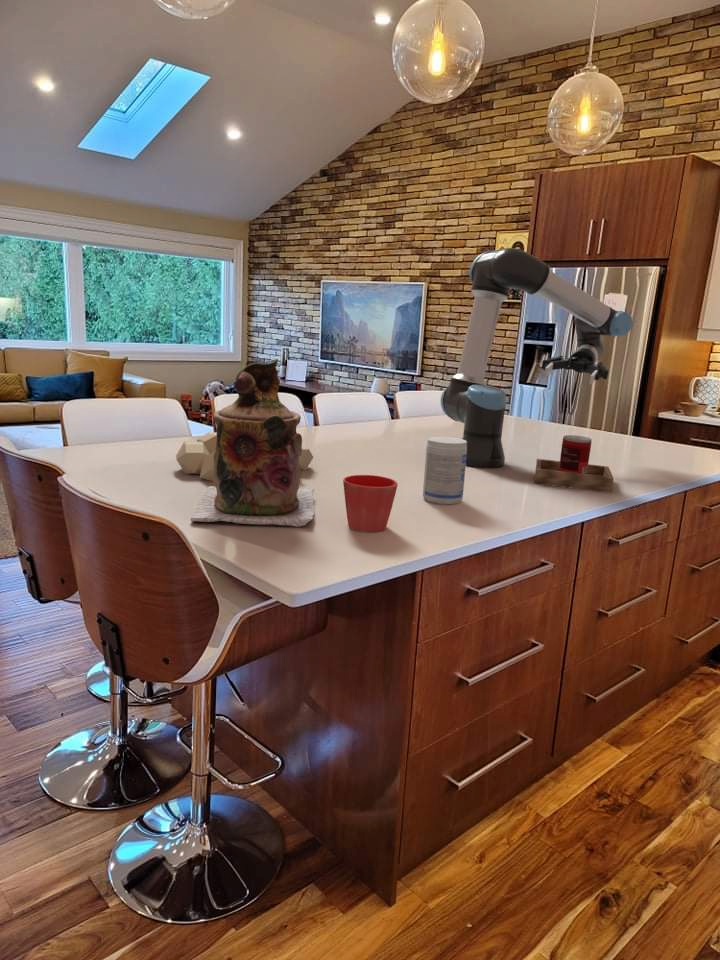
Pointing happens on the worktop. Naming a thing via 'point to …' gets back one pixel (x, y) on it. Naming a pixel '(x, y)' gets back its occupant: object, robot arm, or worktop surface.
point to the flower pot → (368, 501)
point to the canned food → (575, 454)
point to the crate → (574, 476)
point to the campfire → (201, 456)
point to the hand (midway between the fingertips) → (568, 376)
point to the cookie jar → (257, 457)
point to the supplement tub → (444, 470)
